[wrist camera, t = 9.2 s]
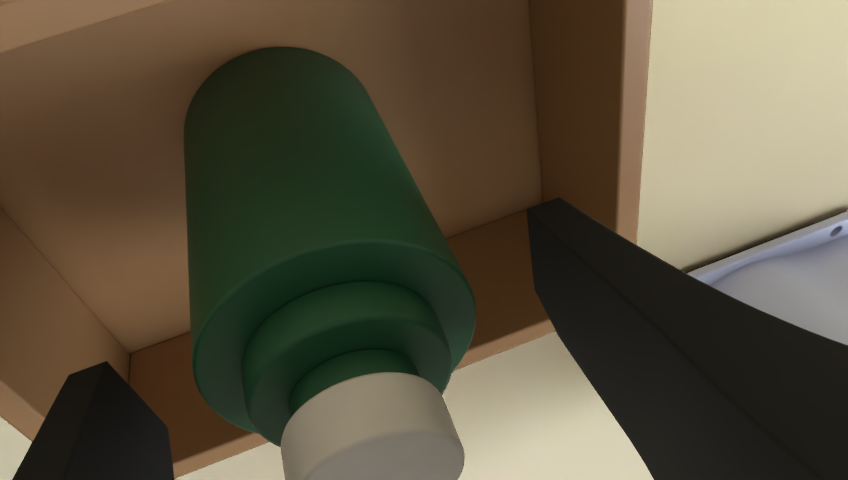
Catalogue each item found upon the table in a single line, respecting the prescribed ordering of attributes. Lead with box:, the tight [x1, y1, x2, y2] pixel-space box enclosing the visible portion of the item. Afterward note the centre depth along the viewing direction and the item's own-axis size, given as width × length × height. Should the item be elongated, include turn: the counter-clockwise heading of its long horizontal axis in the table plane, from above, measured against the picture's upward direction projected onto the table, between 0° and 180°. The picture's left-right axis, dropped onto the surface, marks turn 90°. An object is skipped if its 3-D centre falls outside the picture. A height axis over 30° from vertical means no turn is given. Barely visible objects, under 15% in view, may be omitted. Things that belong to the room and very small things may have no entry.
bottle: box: [184, 47, 476, 480], centre depth 12 cm, size 5×5×9 cm
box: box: [0, 0, 653, 479], centre depth 14 cm, size 14×11×5 cm
